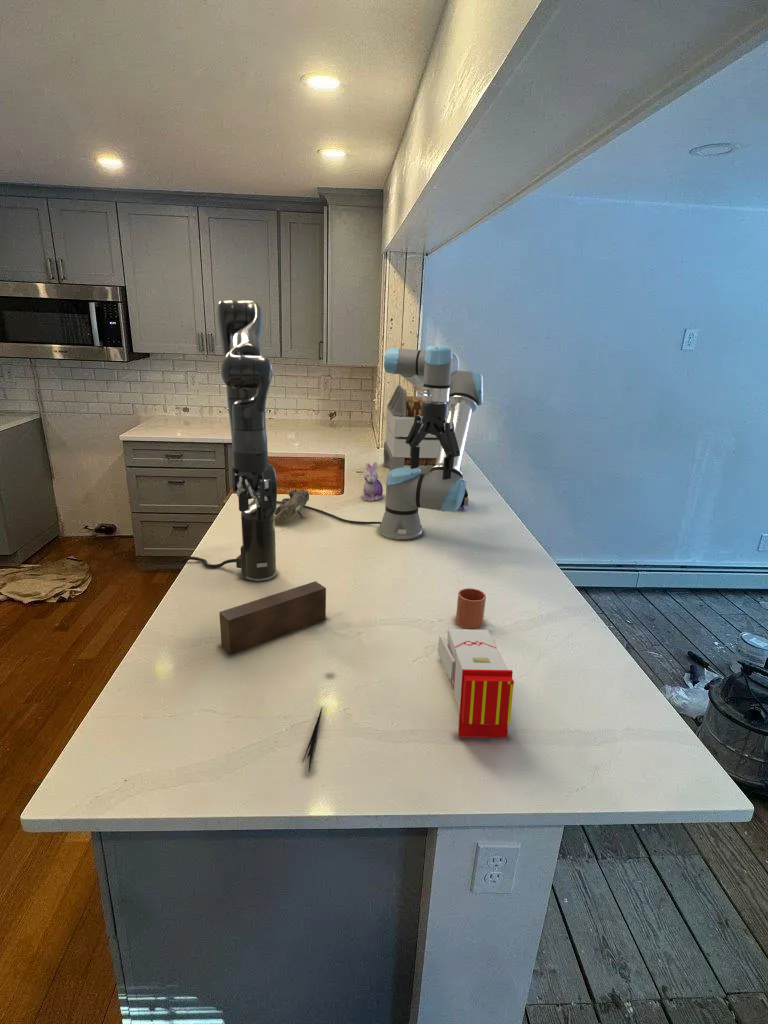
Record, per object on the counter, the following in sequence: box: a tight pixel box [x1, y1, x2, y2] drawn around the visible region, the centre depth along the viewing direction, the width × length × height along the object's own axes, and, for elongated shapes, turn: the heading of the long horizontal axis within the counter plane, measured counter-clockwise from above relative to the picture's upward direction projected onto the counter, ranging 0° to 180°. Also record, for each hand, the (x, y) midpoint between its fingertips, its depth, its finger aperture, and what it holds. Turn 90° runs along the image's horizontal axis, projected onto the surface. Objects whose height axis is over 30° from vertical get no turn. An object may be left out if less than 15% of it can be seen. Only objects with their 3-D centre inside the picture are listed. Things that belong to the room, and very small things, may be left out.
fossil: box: [275, 488, 310, 526], centre depth 210 cm, size 22×10×15 cm
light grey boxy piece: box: [383, 384, 462, 472], centre depth 268 cm, size 34×33×41 cm
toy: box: [437, 628, 515, 738], centre depth 117 cm, size 12×13×30 cm
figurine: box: [362, 461, 384, 502], centre depth 233 cm, size 9×10×15 cm
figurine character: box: [459, 488, 470, 511], centre depth 230 cm, size 7×8×15 cm
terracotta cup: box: [455, 587, 487, 630], centre depth 144 cm, size 7×7×8 cm
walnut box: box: [218, 580, 327, 656], centre depth 135 cm, size 26×5×9 cm, turn 131°
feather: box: [301, 673, 332, 771], centre depth 108 cm, size 2×28×2 cm
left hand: (252, 516), depth 131 cm, fingers open, 8 cm apart
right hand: (430, 473), depth 170 cm, fingers open, 13 cm apart
